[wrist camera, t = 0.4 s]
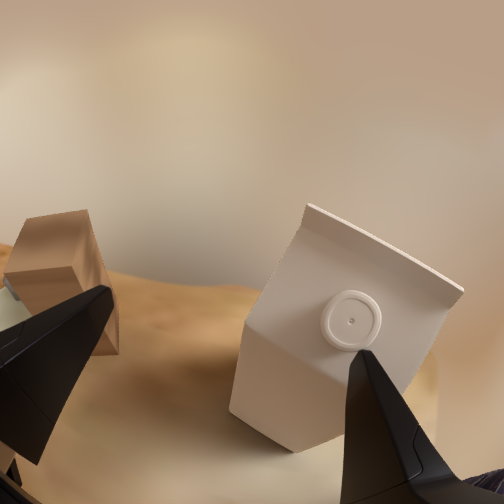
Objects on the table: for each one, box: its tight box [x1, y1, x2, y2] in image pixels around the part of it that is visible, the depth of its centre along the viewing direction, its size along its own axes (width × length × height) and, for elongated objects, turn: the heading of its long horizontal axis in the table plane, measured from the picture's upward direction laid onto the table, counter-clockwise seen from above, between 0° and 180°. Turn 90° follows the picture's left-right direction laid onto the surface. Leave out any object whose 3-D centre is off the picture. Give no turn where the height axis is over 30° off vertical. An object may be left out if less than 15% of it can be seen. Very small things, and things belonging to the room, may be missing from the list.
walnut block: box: [4, 210, 119, 356], centre depth 21 cm, size 6×6×12 cm
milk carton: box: [229, 203, 464, 453], centre depth 16 cm, size 7×7×19 cm
